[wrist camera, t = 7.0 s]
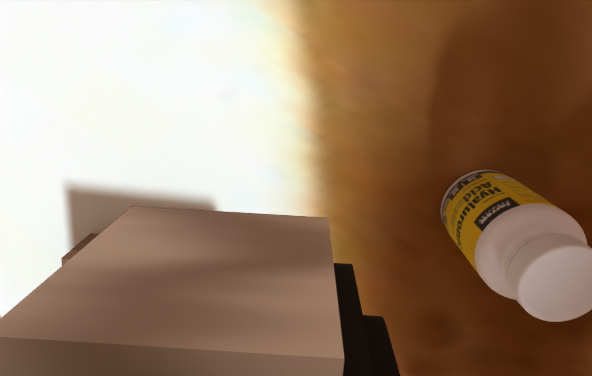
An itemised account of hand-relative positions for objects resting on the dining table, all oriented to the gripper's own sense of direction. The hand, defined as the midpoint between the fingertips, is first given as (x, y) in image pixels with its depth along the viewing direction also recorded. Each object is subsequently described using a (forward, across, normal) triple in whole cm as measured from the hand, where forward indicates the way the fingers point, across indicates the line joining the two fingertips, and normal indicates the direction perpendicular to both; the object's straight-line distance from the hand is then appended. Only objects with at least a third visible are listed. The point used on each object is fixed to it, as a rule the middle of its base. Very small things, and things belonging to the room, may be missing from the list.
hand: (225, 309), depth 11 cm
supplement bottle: (+17, -14, +3) cm, 22 cm away
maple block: (+1, 0, 0) cm, 1 cm away
